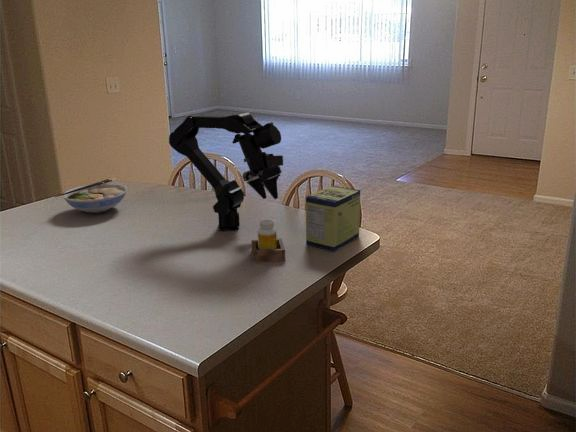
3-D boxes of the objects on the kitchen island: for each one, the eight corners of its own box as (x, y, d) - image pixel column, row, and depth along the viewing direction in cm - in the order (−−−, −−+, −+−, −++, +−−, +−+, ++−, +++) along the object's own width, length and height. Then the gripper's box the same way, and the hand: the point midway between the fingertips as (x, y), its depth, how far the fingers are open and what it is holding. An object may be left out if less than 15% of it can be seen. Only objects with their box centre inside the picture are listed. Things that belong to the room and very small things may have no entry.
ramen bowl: (90, 225, 181) (87, 202, 179) (49, 214, 193) (45, 193, 190) (144, 206, 201) (142, 185, 199) (104, 197, 213) (101, 177, 210)
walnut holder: (253, 262, 150) (253, 251, 148) (251, 250, 158) (251, 240, 157) (285, 260, 151) (285, 249, 150) (281, 248, 159) (281, 238, 158)
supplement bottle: (257, 250, 156) (256, 219, 153) (274, 248, 157) (274, 218, 154) (260, 257, 151) (259, 225, 148) (278, 255, 152) (277, 224, 149)
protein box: (359, 236, 168) (361, 189, 163) (334, 252, 156) (335, 202, 151) (331, 230, 174) (332, 184, 169) (305, 244, 162) (304, 196, 157)
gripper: (286, 140, 159) (304, 188, 162) (263, 145, 176) (280, 189, 179) (254, 153, 155) (273, 202, 158) (234, 157, 172) (251, 202, 175)
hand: (270, 198), depth 167 cm, fingers open, 9 cm apart
